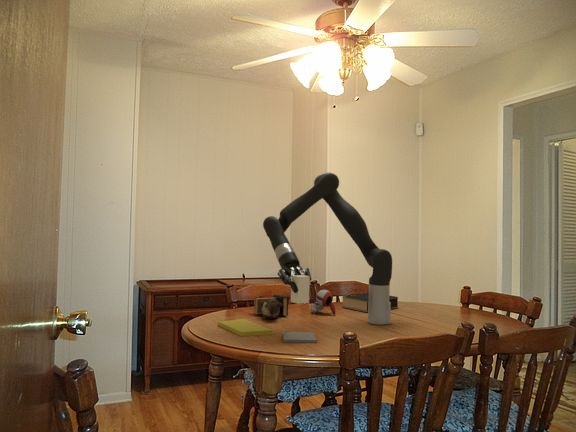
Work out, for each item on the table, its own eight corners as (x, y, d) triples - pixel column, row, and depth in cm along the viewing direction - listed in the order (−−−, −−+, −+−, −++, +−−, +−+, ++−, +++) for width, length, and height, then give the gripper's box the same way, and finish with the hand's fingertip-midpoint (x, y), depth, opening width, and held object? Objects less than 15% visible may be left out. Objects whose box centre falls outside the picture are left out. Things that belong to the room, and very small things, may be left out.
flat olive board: (217, 326, 188) (244, 339, 168) (218, 321, 188) (244, 333, 168) (243, 324, 194) (272, 335, 174) (243, 319, 194) (272, 329, 174)
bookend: (278, 294, 223) (298, 296, 200) (277, 316, 221) (297, 320, 199) (250, 294, 217) (268, 296, 195) (249, 316, 216) (267, 321, 193)
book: (397, 309, 240) (398, 296, 241) (366, 313, 225) (367, 300, 225) (373, 304, 254) (373, 292, 254) (342, 308, 238) (342, 296, 239)
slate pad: (313, 334, 175) (313, 332, 175) (316, 342, 163) (316, 339, 163) (282, 334, 174) (282, 331, 174) (283, 342, 162) (284, 339, 162)
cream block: (301, 300, 173) (302, 275, 173) (308, 302, 168) (309, 276, 169) (290, 301, 170) (291, 275, 170) (297, 303, 166) (298, 276, 166)
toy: (332, 324, 217) (340, 298, 213) (302, 318, 215) (309, 291, 212) (328, 311, 231) (335, 285, 227) (300, 305, 229) (307, 279, 226)
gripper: (274, 251, 172) (291, 286, 162) (305, 250, 180) (322, 284, 169) (267, 263, 176) (282, 298, 166) (297, 263, 184) (314, 296, 174)
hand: (302, 291), depth 168 cm, fingers closed on cream block, 5 cm apart
